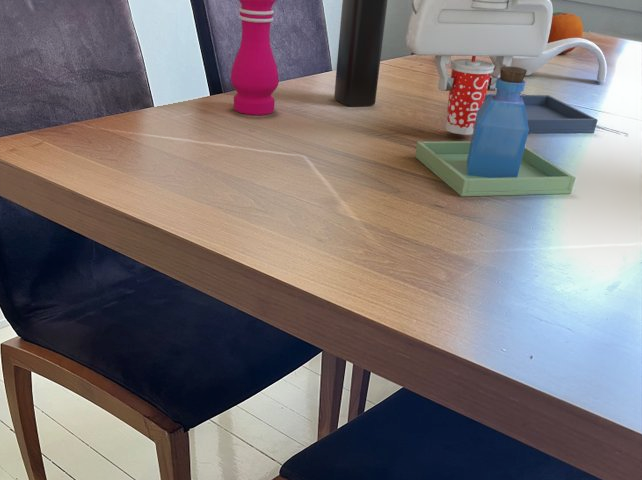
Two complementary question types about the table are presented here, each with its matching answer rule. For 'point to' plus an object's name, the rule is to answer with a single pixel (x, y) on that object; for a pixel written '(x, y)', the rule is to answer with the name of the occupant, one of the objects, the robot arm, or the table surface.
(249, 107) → the pepper mill
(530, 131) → the slate tray
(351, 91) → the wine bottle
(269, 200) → the table surface
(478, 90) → the beverage cup
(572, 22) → the fruit
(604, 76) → the white ladle
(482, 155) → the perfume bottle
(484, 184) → the sage tray
